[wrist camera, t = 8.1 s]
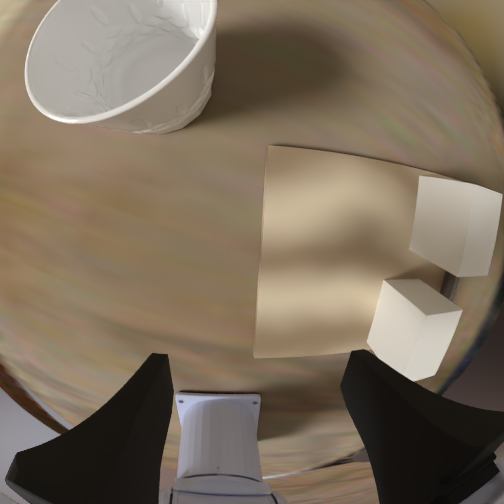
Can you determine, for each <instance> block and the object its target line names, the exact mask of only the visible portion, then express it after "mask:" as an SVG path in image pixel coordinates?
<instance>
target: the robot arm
mask: <svg viewBox="0 0 504 504" xmlns="http://www.w3.org/2000/svg"><path fill="white" fill-rule="evenodd" d="M340 387H341V390H342V394H343V397H344V401H345V404H346V407H347V409H348V411H349V413H350V415H351V418H352V420H353V422H354V424H355V426H356V428H357V430H358V432H359V435H360V437H361V439H362V441H363V443H364V445H365V448H366V450H367V453H368V456H369V459H370V463H371V466H372V470H373V474H374V478H375V482H376V486H377V491H378V497H379V503H380V504H504V457H503V458H502V459H501V460H500V461H499V462H498V463H497V464H495V463H494V462H493V461H494V460H495V459H496V455H495V454H494V451H495V450H496V449H497V448H498V447H499V446H500V444H502V443H503V441H504V412H500V411H491V410H484V409H479V408H475V407H470V406H467V405H463V404H460V403H457V402H455V401H452V400H449V399H447V398H444V397H442V396H440V395H438V394H435V393H433V392H431V391H429V390H427V389H425V388H424V387H422V386H420V385H418V384H417V383H415V382H413V381H412V380H410V379H408V378H407V377H405V376H404V375H402V374H401V373H399V372H398V371H396V370H395V369H393V368H392V367H390V366H389V365H388V364H386V363H385V362H383V361H382V360H380V359H379V358H378V357H376V356H375V355H373V354H372V353H370V352H369V351H367V350H365V349H361V350H352V351H351V354H350V358H349V361H348V364H347V367H346V370H345V373H344V376H343V379H342V382H341V385H340ZM173 395H174V389H173V384H172V378H171V372H170V365H169V359H168V354H157V353H152V354H151V355H150V356H149V357H148V358H147V359H146V361H145V362H144V363H143V364H142V366H141V367H140V368H139V369H138V370H137V371H136V373H135V374H134V375H133V376H132V377H131V378H130V379H129V380H128V382H127V383H126V384H125V385H124V386H123V387H122V388H121V389H120V390H119V391H118V392H117V393H116V394H115V395H114V396H113V397H112V398H111V399H110V400H109V401H108V402H107V403H106V404H104V405H103V406H102V407H101V408H100V409H99V410H97V411H96V412H95V413H94V414H92V415H91V416H90V417H89V418H87V419H86V420H84V421H83V422H81V423H80V424H79V425H77V426H75V427H74V428H73V429H71V430H69V431H68V432H66V433H64V434H62V435H60V436H58V437H56V438H54V439H52V440H50V441H48V442H46V443H43V444H41V445H39V446H36V447H33V448H30V449H27V450H24V451H21V452H18V453H17V454H16V455H15V458H14V460H13V462H12V464H11V466H10V468H9V471H8V473H7V475H6V478H5V482H6V484H7V485H8V486H9V487H10V488H11V489H12V490H13V491H15V492H16V493H17V494H19V495H20V496H21V497H22V498H23V499H25V500H26V501H27V502H29V503H30V504H289V503H288V501H287V500H286V499H285V498H284V497H283V496H282V495H281V494H280V493H278V492H271V489H270V483H269V482H263V479H262V472H261V465H260V457H259V450H258V443H257V435H256V434H257V427H258V419H259V411H260V402H261V397H260V395H259V394H201V393H183V392H178V393H177V394H176V397H175V398H176V403H177V408H178V413H179V418H180V423H181V427H182V432H181V442H180V451H179V462H178V473H177V478H175V480H174V490H173V487H169V486H165V487H164V489H162V490H160V491H159V481H160V467H161V460H162V455H163V450H164V445H165V441H166V436H167V432H168V427H169V423H170V418H171V414H172V405H173ZM255 401H256V402H255ZM0 504H19V503H17V502H16V501H14V500H13V499H11V498H10V497H8V496H6V495H5V494H3V493H0Z"/></svg>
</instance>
